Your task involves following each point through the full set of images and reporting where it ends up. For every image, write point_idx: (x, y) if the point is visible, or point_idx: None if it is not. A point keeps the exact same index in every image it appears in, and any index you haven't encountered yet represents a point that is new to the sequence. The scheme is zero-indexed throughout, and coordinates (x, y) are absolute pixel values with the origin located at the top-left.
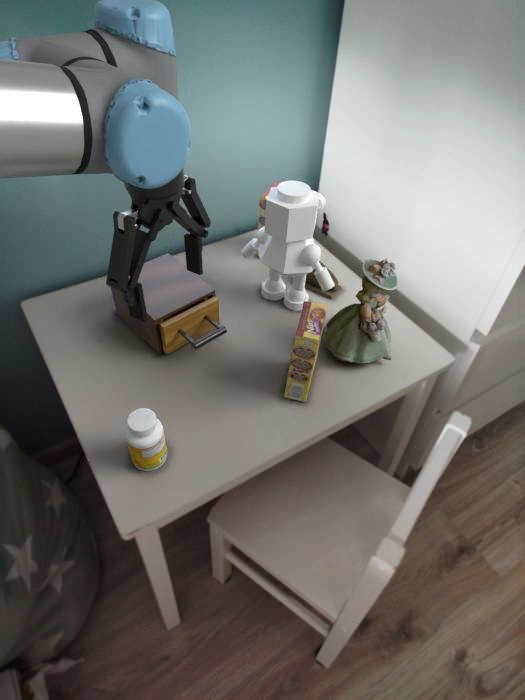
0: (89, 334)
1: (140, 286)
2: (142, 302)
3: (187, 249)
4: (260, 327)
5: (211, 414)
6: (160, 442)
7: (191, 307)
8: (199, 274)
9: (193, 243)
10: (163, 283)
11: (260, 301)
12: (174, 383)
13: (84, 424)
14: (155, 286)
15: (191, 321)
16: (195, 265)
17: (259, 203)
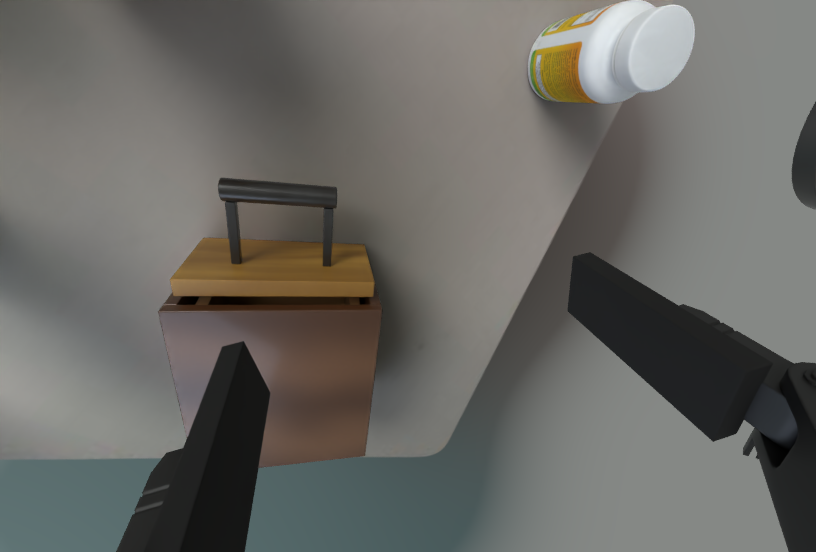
0: (422, 364)
1: (748, 361)
2: (657, 301)
3: (246, 491)
4: (88, 161)
5: (406, 34)
6: (613, 4)
7: None
8: (244, 346)
9: (211, 530)
10: (278, 397)
11: (19, 239)
12: (399, 175)
13: (558, 213)
14: (301, 397)
15: (286, 267)
16: (244, 391)
17: None
